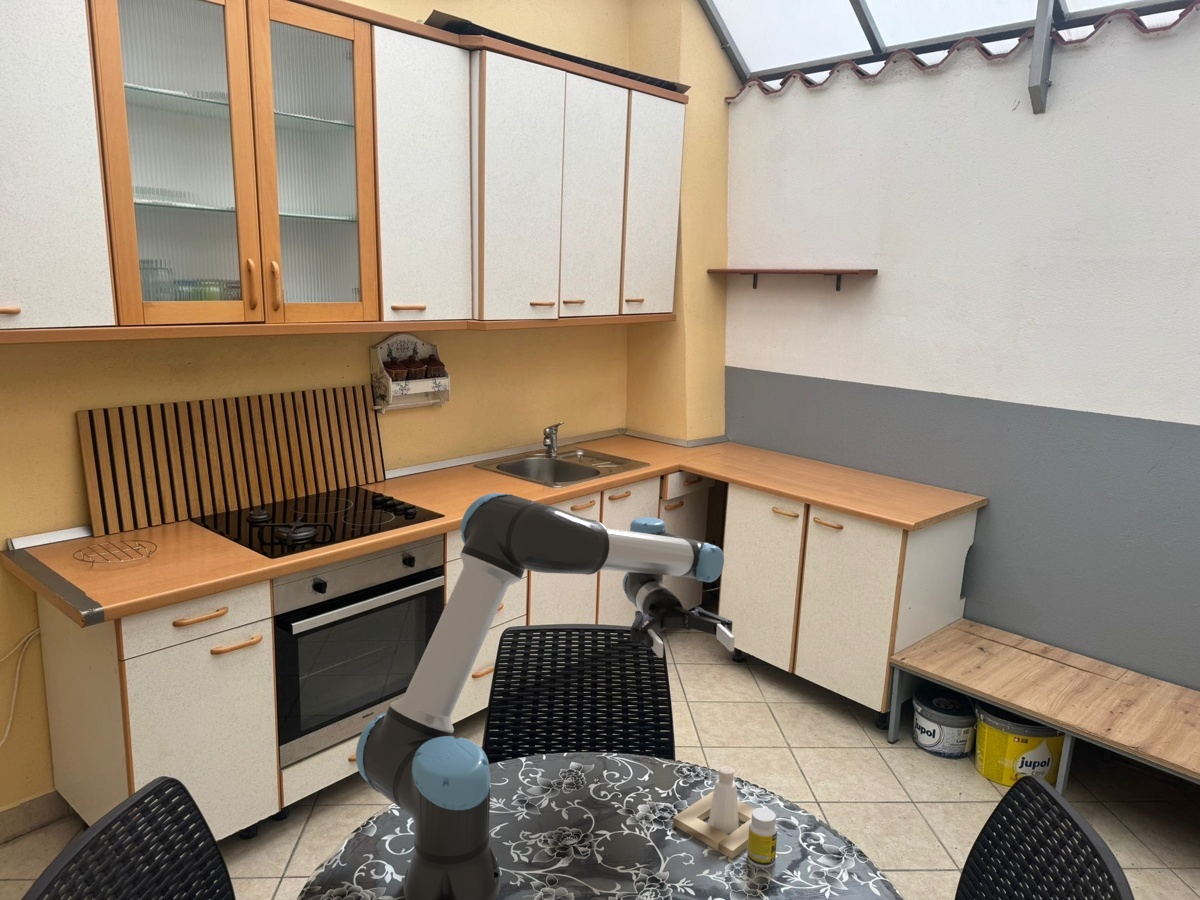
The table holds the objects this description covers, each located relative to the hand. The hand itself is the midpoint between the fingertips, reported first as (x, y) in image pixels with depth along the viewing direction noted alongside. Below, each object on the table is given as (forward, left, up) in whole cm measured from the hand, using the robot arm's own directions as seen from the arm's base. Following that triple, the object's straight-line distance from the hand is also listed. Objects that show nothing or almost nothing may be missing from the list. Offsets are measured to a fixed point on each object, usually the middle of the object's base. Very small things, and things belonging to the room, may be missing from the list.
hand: (697, 647), depth 149 cm
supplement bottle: (+17, -2, -32) cm, 37 cm away
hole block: (+7, +1, -32) cm, 33 cm away
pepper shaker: (+7, +1, -32) cm, 33 cm away
